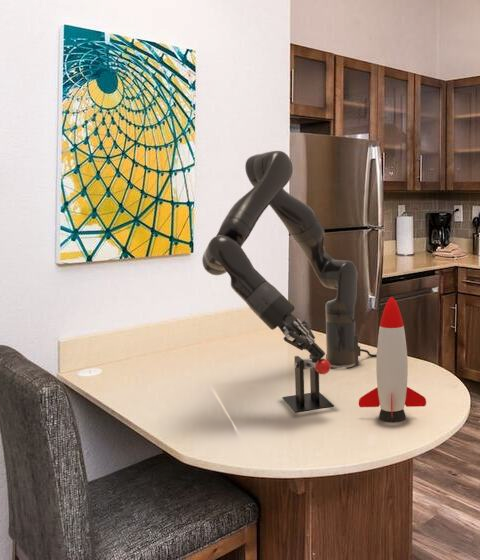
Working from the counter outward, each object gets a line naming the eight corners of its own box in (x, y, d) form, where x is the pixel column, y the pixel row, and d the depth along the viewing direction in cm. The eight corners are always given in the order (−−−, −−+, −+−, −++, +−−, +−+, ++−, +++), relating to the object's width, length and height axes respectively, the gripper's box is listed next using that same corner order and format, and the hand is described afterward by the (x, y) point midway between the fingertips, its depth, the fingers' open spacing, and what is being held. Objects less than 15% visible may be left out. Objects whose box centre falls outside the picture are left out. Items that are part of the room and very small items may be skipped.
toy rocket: (359, 425, 146) (357, 298, 148) (392, 419, 154) (390, 299, 156) (393, 430, 138) (392, 296, 140) (426, 424, 146) (424, 297, 148)
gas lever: (333, 373, 144) (331, 358, 144) (318, 375, 142) (317, 360, 142) (312, 369, 158) (311, 355, 159) (298, 371, 157) (297, 357, 157)
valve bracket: (334, 410, 155) (333, 360, 153) (295, 416, 151) (294, 365, 149) (318, 395, 166) (317, 349, 164) (282, 401, 161) (280, 353, 160)
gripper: (271, 298, 137) (326, 354, 137) (288, 289, 150) (338, 340, 150) (249, 321, 139) (304, 376, 139) (268, 310, 151) (317, 360, 152)
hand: (322, 357), depth 144 cm, fingers closed
